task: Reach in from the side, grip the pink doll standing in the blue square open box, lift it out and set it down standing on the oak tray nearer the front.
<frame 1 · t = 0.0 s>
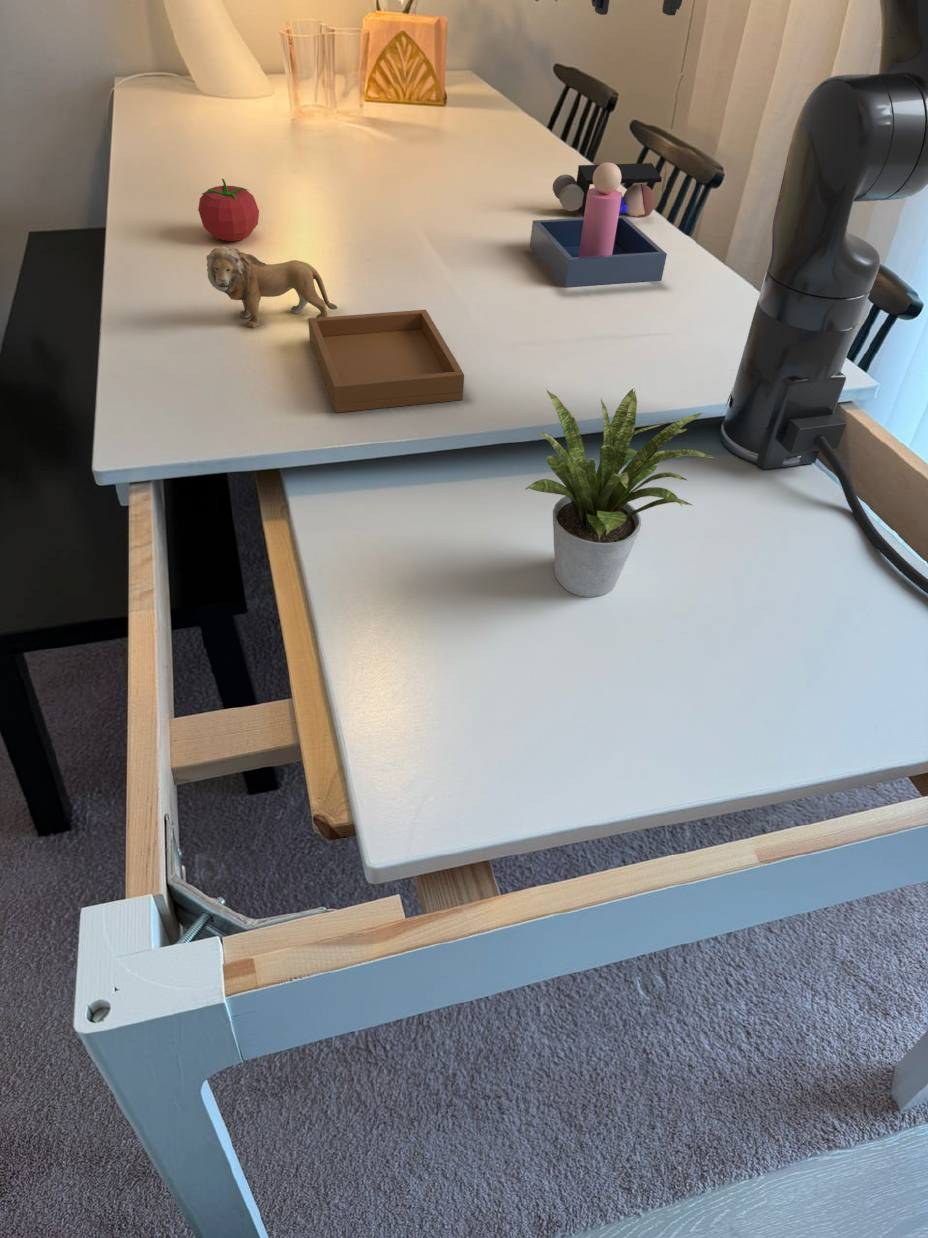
hand: (635, 13, 106), 29 cm above the table, tool pointing down, fingers open, 8 cm apart
blue square open box: (593, 270, 125), on the table
doll: (594, 262, 124), point 1 cm above the table, touching blue square open box
house plant: (594, 588, 77), on the table
lion figurine: (273, 322, 108), on the table
tray: (383, 370, 101), on the table
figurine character: (602, 219, 139), on the table
tomato: (232, 239, 126), on the table
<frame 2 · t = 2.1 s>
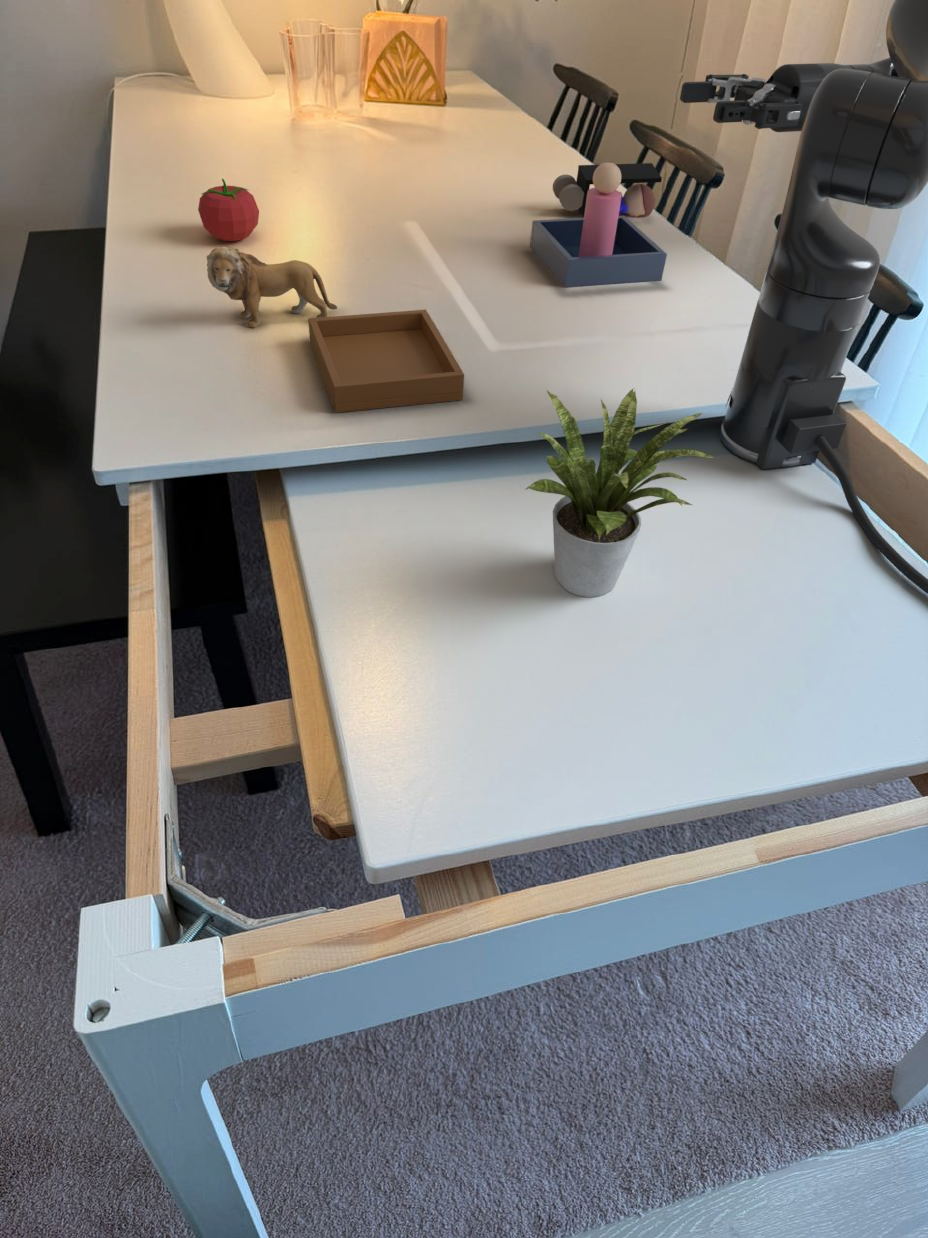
hand: (698, 102, 114), 20 cm above the table, tool horizontal, fingers open, 8 cm apart
nothing on the table moved.
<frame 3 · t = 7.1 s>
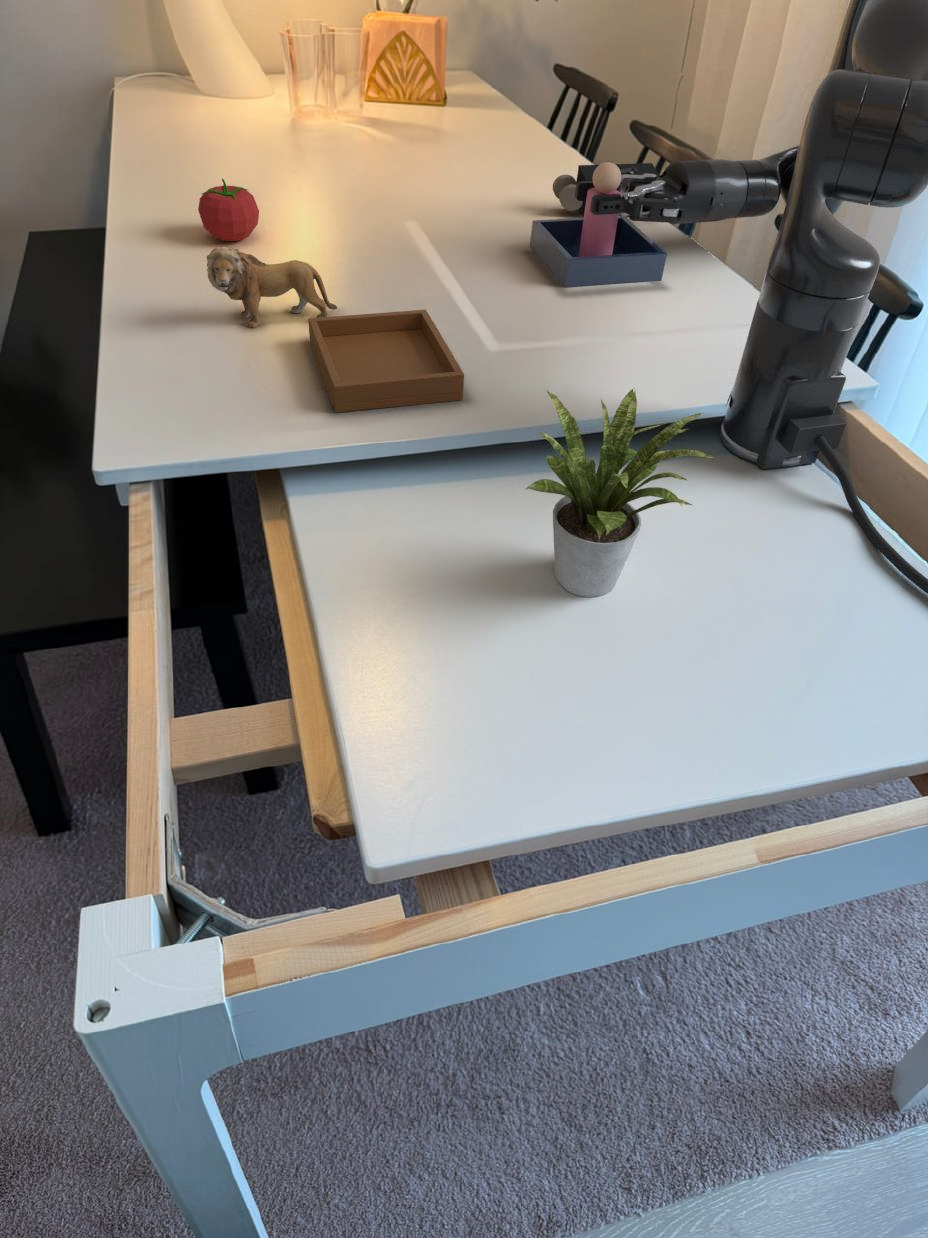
hand: (584, 197, 117), 10 cm above the table, tool horizontal, fingers closed on doll, 4 cm apart
doll: (594, 262, 124), point 1 cm above the table, touching blue square open box, gripper
everything else where it was.
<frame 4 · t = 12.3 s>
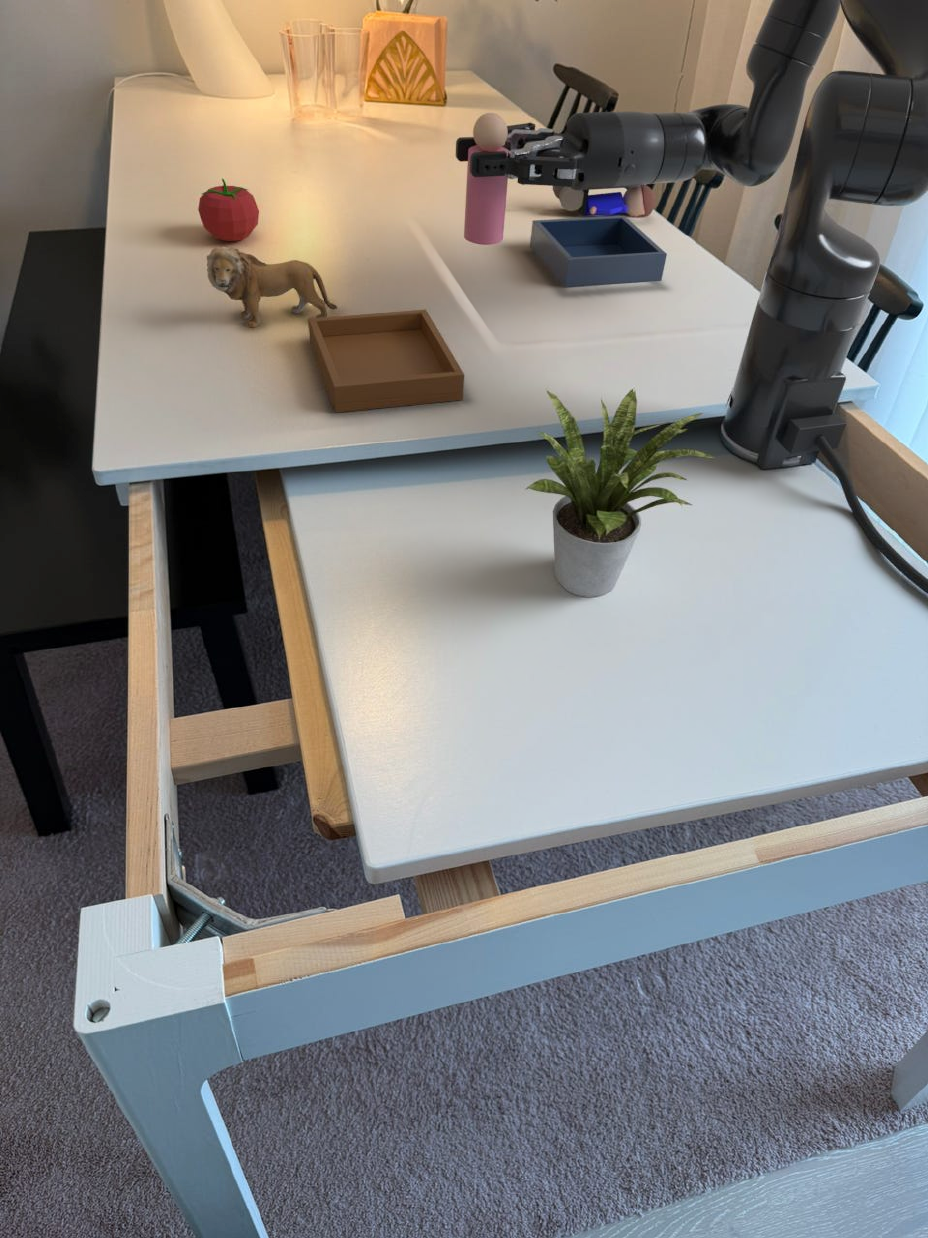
hand: (464, 157, 97), 19 cm above the table, tool horizontal, fingers closed on doll, 4 cm apart
doll: (483, 237, 103), point 10 cm above the table, touching gripper
everything else where it was.
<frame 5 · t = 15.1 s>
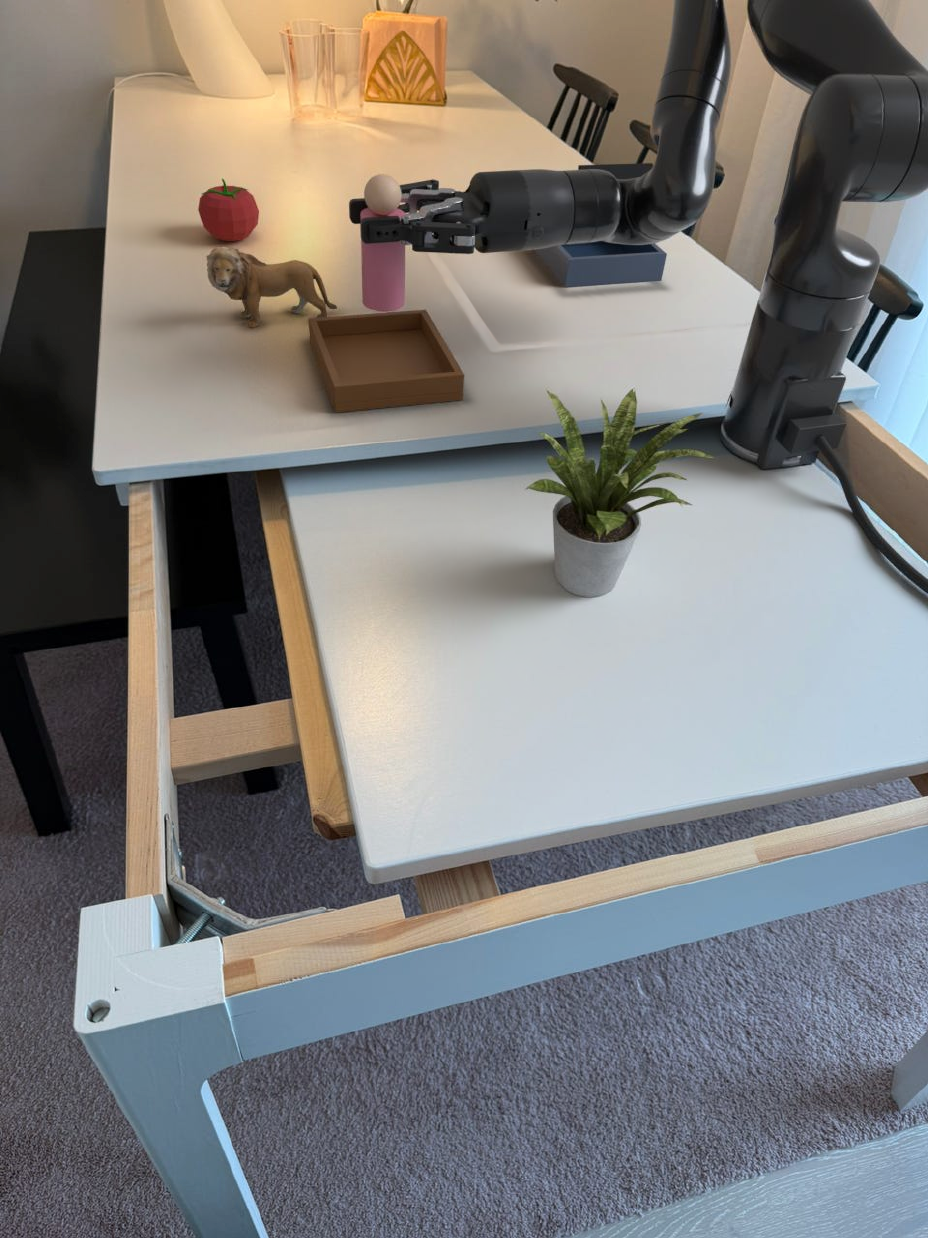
hand: (356, 221, 90), 16 cm above the table, tool horizontal, fingers closed on doll, 4 cm apart
doll: (383, 302, 96), point 8 cm above the table, touching gripper
everything else where it was.
when the fingers open (9 cm above the table, at t = 17.4 s): doll stays where it is, resting on tray.
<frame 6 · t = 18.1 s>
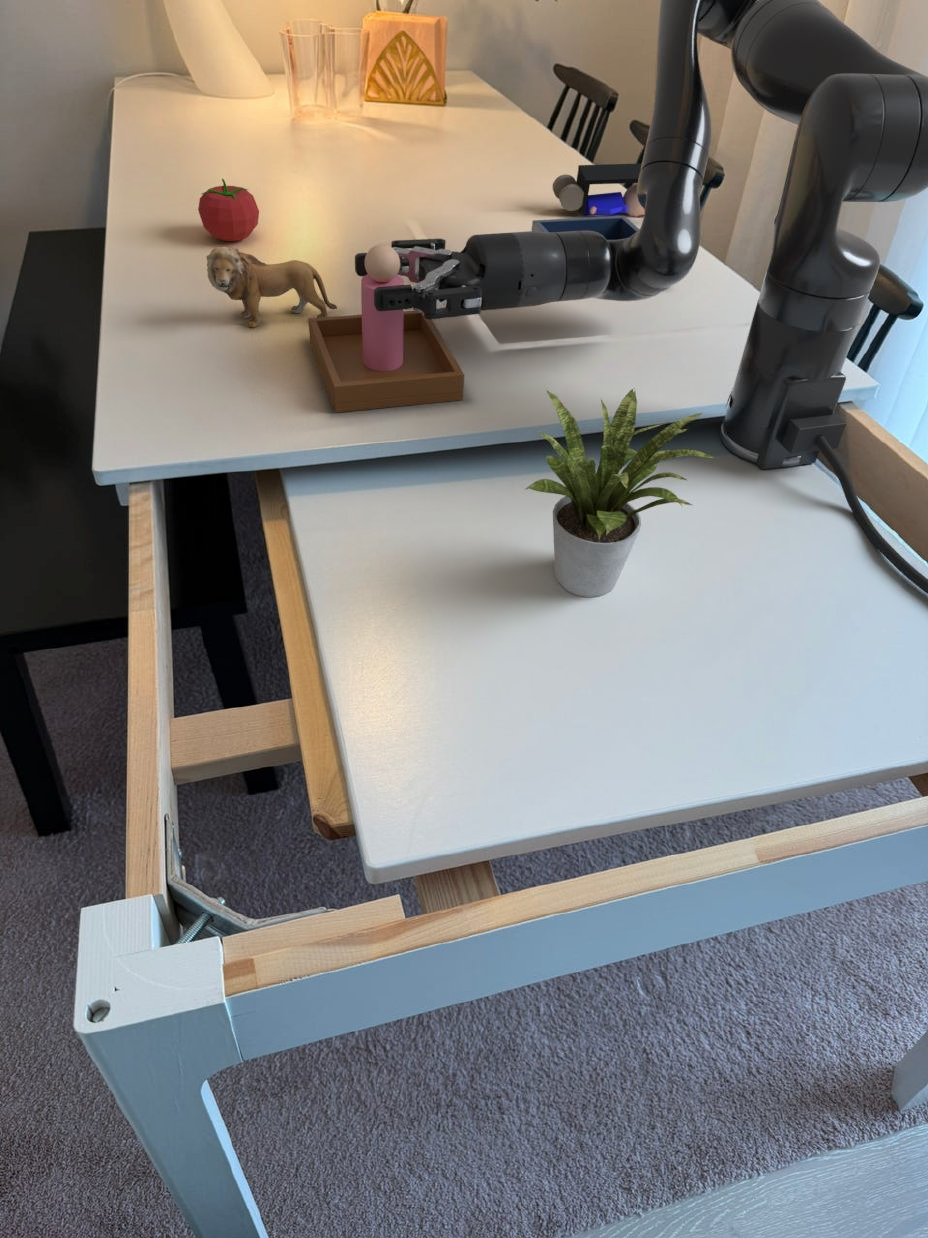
hand: (364, 281, 94), 10 cm above the table, tool horizontal, fingers open, 8 cm apart
doll: (382, 361, 101), point 1 cm above the table, touching tray
everything else where it was.
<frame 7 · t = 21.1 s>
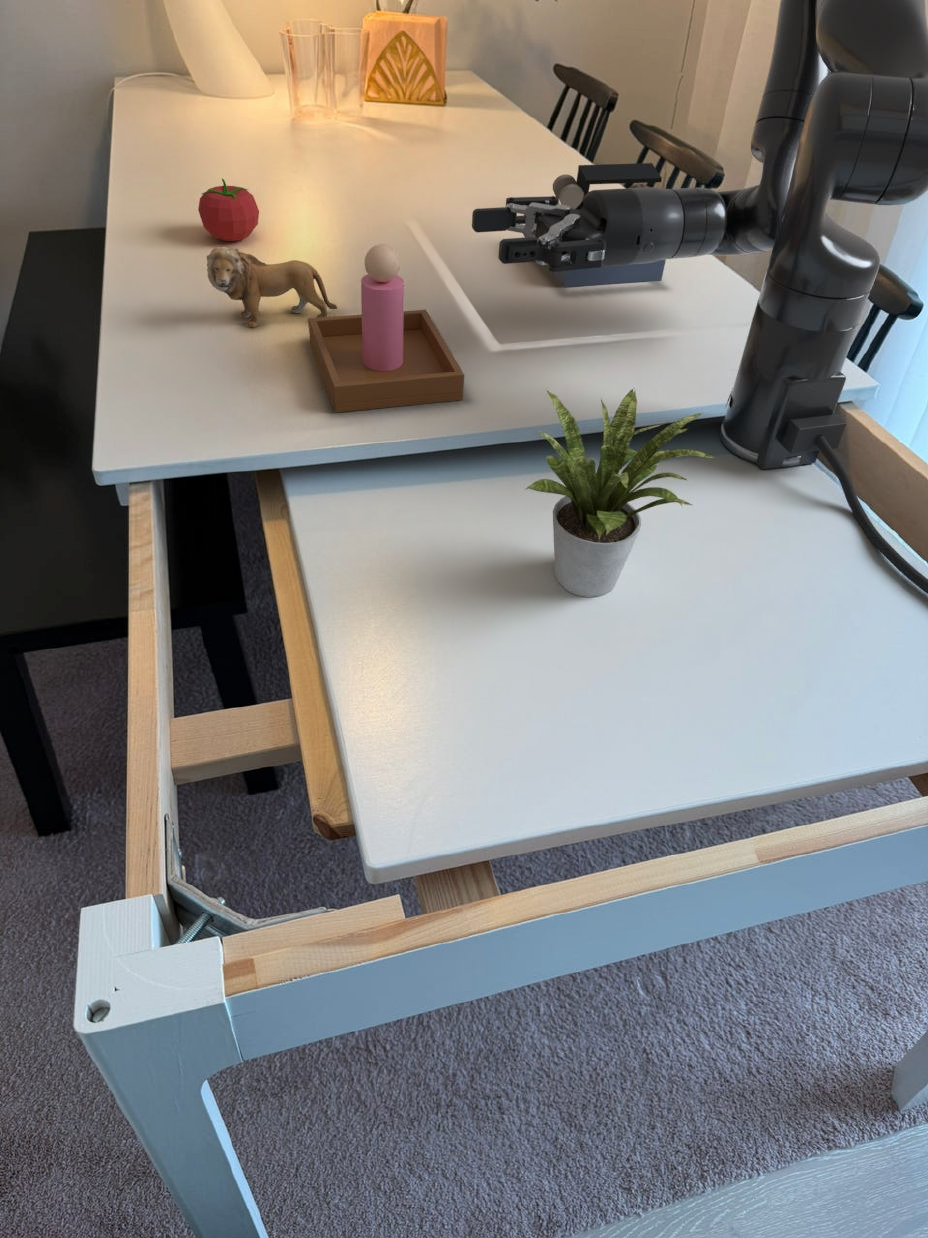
hand: (486, 235, 94), 14 cm above the table, tool horizontal, fingers open, 8 cm apart
nothing on the table moved.
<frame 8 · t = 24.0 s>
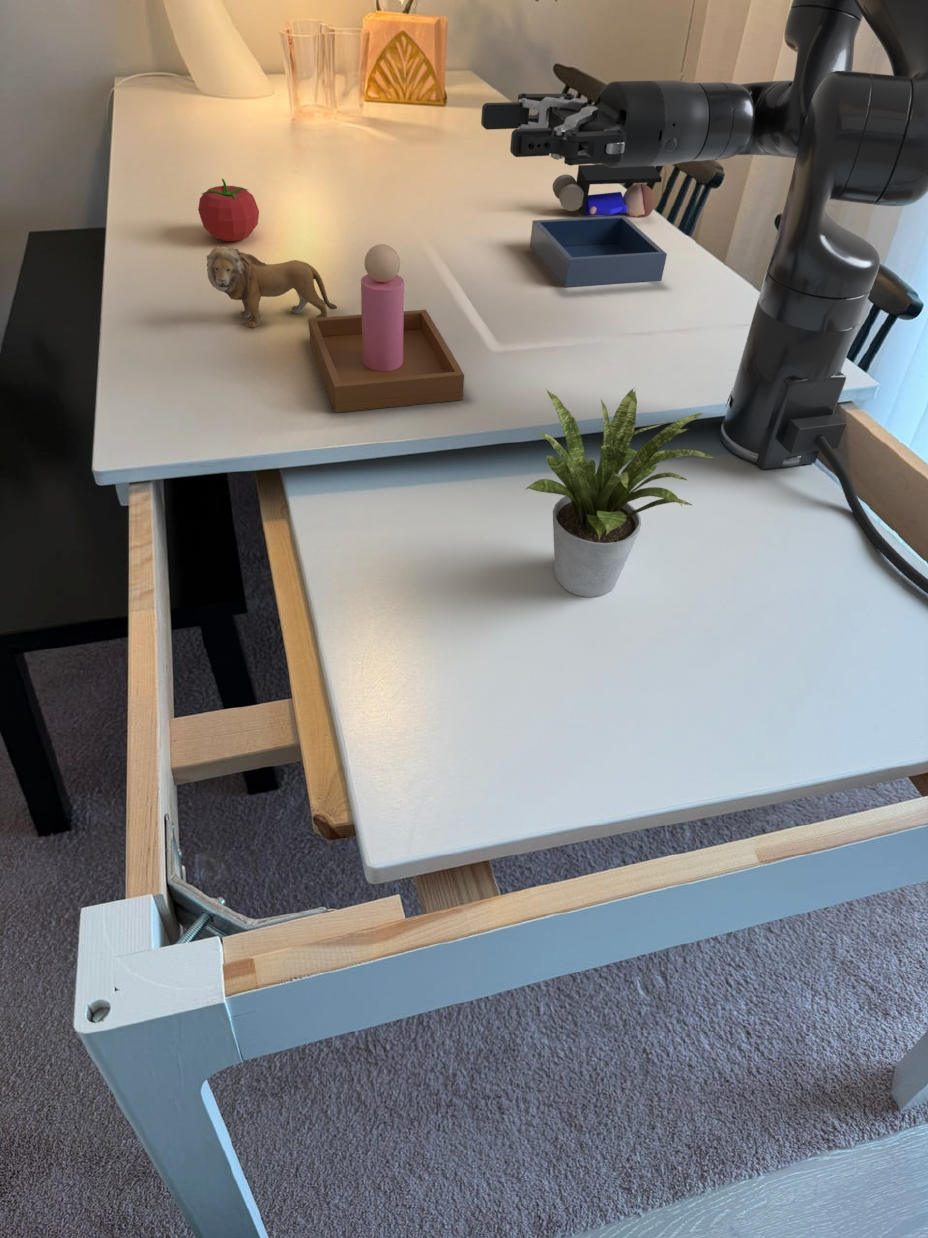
hand: (496, 129, 87), 24 cm above the table, tool horizontal, fingers open, 8 cm apart
nothing on the table moved.
at the end: doll inside the target area in the tray (0.1 cm from its centre), point 1.0 cm above the tray's base; doll tilted 0°; doll touching tray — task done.
